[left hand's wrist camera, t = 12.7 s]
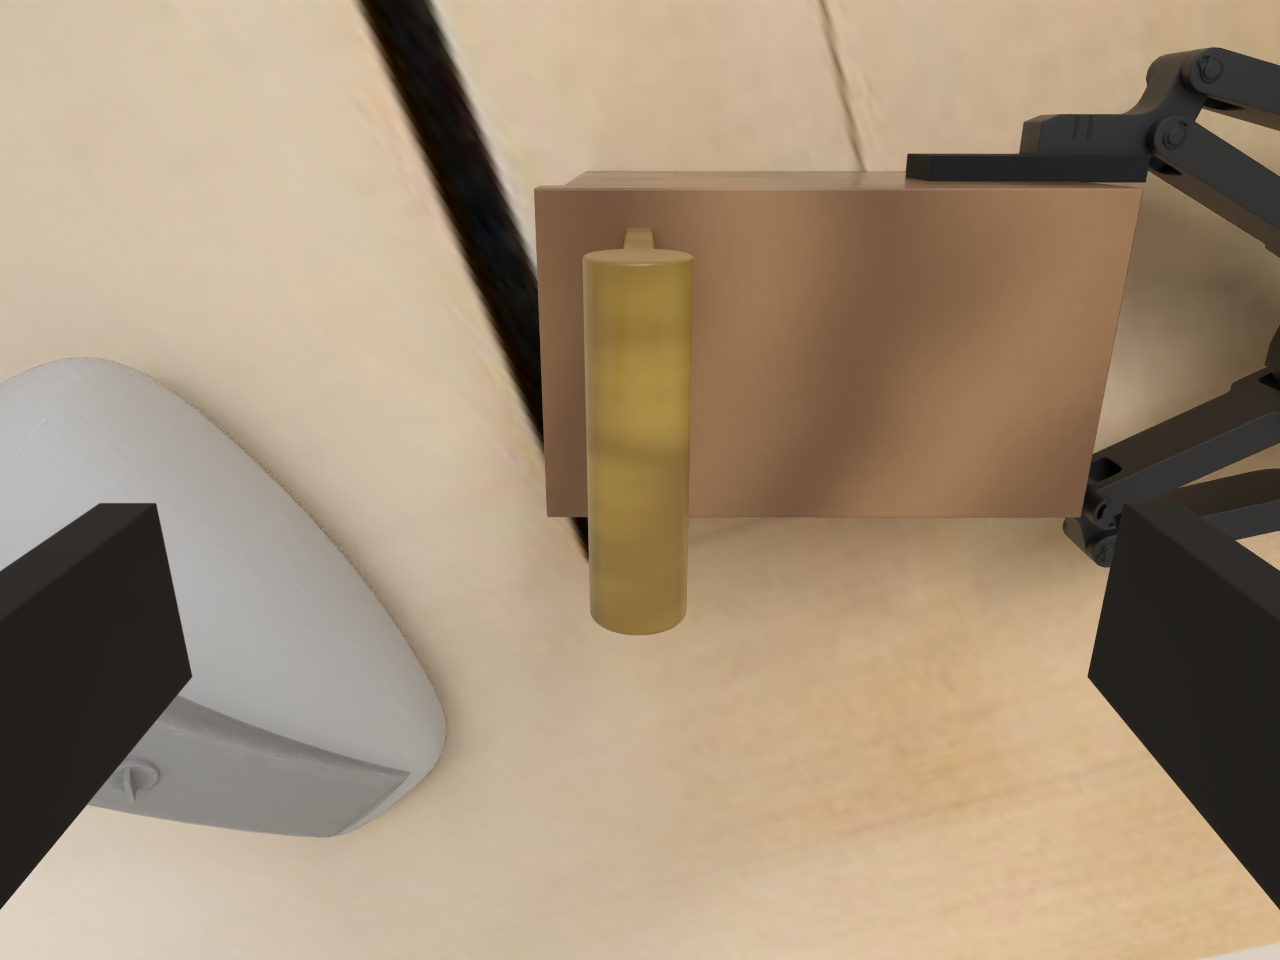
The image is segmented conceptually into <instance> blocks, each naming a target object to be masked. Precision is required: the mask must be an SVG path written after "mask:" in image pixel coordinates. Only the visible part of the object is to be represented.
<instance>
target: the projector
mask: <svg viewBox="0 0 1280 960" xmlns="http://www.w3.org/2000/svg"><path fill="white" fill-rule="evenodd" d="M99 503H156V504H157V509H158V514H159V519H160V524H161V528H162V533H163V538H164V543H165V548H166V552H167V557H168V562H169V567H170V572H171V576H172V581H173V586H174V591H175V596H176V600H177V605H178V610H179V615H180V620H181V624H182V629H183V634H184V639H185V644H186V648H187V653H188V658H189V663H190V668H191V672H192V678H191V679H190V680H189V682H188V683H187V684H186V685H185V686H184V688H183V689H182V690H181V691H180V693H179V694H178V695H177V696H176V697H175V699H174V700H173V701H172V702H171V703H170V705H169V706H168V707H167V708H166V710H165V711H164V712H163V713H162V714H161V716H160V717H159V718H158V719H157V720H156V722H155V723H154V724H153V725H152V726H151V728H150V729H149V730H148V731H147V733H146V734H145V735H144V736H143V737H142V739H141V740H140V741H139V742H138V743H137V745H136V746H135V747H134V748H133V750H132V751H131V752H130V753H129V754H128V756H127V757H126V758H125V759H124V760H123V762H122V763H121V764H120V765H119V766H118V768H117V769H116V770H115V771H114V773H113V774H112V775H111V776H110V777H109V779H108V780H107V781H106V782H105V783H104V785H103V786H102V787H101V788H100V789H99V791H98V792H97V793H96V794H95V796H94V797H93V798H92V799H91V800H90V802H89V803H88V804H87V805H92V806H96V807H101V808H106V809H111V810H116V811H120V812H125V813H130V814H136V815H142V816H148V817H153V818H159V819H165V820H171V821H177V822H183V823H190V824H197V825H204V826H211V827H219V828H226V829H233V830H240V831H248V832H258V833H269V834H279V835H289V836H307V837H331V836H337V835H342V834H345V833H348V832H350V831H353V830H355V829H357V828H359V827H361V826H363V825H365V824H366V823H368V822H369V821H371V820H373V819H374V818H376V817H377V816H379V815H380V814H381V813H383V812H384V811H385V810H387V809H388V808H389V807H391V806H392V805H393V804H395V803H396V802H397V801H398V800H400V799H401V798H402V797H403V796H405V795H406V794H407V793H408V792H409V791H411V790H412V789H413V788H414V787H415V786H416V785H417V784H419V783H420V782H421V781H422V780H423V779H424V778H425V777H426V776H427V774H428V773H429V772H430V771H431V770H432V769H433V767H434V766H435V765H436V763H437V761H438V760H439V758H440V755H441V753H442V750H443V747H444V744H445V737H446V718H445V714H444V711H443V708H442V705H441V703H440V700H439V698H438V696H437V694H436V692H435V689H434V687H433V685H432V684H431V682H430V680H429V678H428V676H427V675H426V673H425V671H424V669H423V667H422V665H421V664H420V662H419V660H418V659H417V657H416V656H415V654H414V652H413V651H412V649H411V648H410V646H409V644H408V643H407V641H406V640H405V638H404V636H403V635H402V633H401V632H400V630H399V629H398V627H397V626H396V624H395V623H394V621H393V620H392V619H391V617H390V616H389V614H388V613H387V611H386V610H385V608H384V607H383V605H382V604H381V603H380V601H379V600H378V598H377V597H376V596H375V594H374V593H373V592H372V590H371V589H370V588H369V586H368V585H367V584H366V582H365V581H364V580H363V579H362V577H361V576H360V575H359V573H358V572H357V571H356V570H355V568H354V567H353V566H352V565H351V564H350V562H349V561H348V560H347V559H346V557H345V556H344V555H343V554H342V552H341V551H340V550H339V549H338V548H337V547H336V546H335V544H334V543H333V542H332V541H331V540H330V539H329V538H328V536H327V535H326V534H325V533H324V532H323V531H322V530H321V529H320V527H319V526H318V525H317V524H316V523H315V522H314V521H313V519H312V518H311V517H310V516H309V515H308V514H307V513H306V512H305V511H304V510H303V509H302V508H301V507H300V506H299V505H298V504H297V503H296V502H295V501H294V500H293V498H292V497H291V496H290V495H289V494H288V493H287V492H286V491H285V490H284V489H283V488H282V487H281V486H280V485H279V484H278V483H277V482H276V481H275V480H274V479H273V478H272V477H271V476H270V475H269V474H268V473H267V472H266V471H265V470H264V469H263V468H262V467H260V466H259V465H258V464H257V463H256V462H255V461H254V460H253V459H252V458H251V457H250V456H249V455H248V454H247V453H246V452H245V451H243V450H242V449H241V448H240V447H239V446H238V445H237V444H236V443H235V442H234V441H233V440H232V439H230V438H229V437H228V436H227V435H226V434H225V433H224V432H223V431H221V430H220V429H219V428H218V427H217V426H216V425H214V424H213V423H212V422H211V421H210V420H208V419H207V418H206V417H205V416H204V415H203V414H201V413H200V412H199V411H198V410H196V409H195V408H194V407H192V406H191V405H190V404H189V403H187V402H186V401H185V400H183V399H182V398H181V397H179V396H178V395H177V394H175V393H174V392H172V391H171V390H169V389H168V388H166V387H165V386H163V385H162V384H160V383H159V382H157V381H156V380H154V379H152V378H150V377H149V376H147V375H145V374H143V373H141V372H139V371H137V370H135V369H133V368H130V367H127V366H125V365H122V364H119V363H116V362H113V361H109V360H104V359H97V358H87V357H86V358H68V359H63V360H57V361H53V362H50V363H47V364H43V365H41V366H38V367H35V368H32V369H29V370H27V371H25V372H23V373H21V374H18V375H16V376H14V377H12V378H10V379H8V380H6V381H5V382H3V383H1V384H0V571H1V570H2V569H4V568H5V567H7V566H8V565H10V564H11V563H13V562H14V561H16V560H17V559H18V558H20V557H21V556H23V555H24V554H26V553H27V552H29V551H30V550H32V549H33V548H35V547H36V546H38V545H39V544H40V543H42V542H43V541H45V540H46V539H48V538H49V537H51V536H52V535H54V534H55V533H57V532H58V531H60V530H61V529H62V528H64V527H65V526H67V525H68V524H70V523H71V522H73V521H74V520H76V519H77V518H79V517H80V516H82V515H83V514H84V513H86V512H87V511H89V510H90V509H92V508H93V507H95V506H96V505H98V504H99Z"/></svg>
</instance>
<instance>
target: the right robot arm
mask: <svg viewBox="0 0 1280 960" xmlns="http://www.w3.org/2000/svg"><path fill="white" fill-rule="evenodd" d="M1146 81H1147V88H1146V90H1145V92H1144V94H1143V95H1142V97H1141V99H1140V100H1139V102H1138V103H1137V104H1136V105H1135V106H1134V107H1133V108H1132V109H1131V110H1129V111H1128V112H1126V113H1124V114H1057V115H1040V116H1038V117H1035V118H1033V119H1030V120H1028V121H1025V122H1024V124H1023V131H1022V138H1021V145H1020V152H1019V154H908V156H907V166H906V176H905V177H907V178H913V179H919V180H925V181H1077V182H1146V177H1147V172H1148V171H1150V172H1151V173H1153V174H1155V175H1156V176H1158V177H1159V178H1161V179H1162V180H1164V181H1166V182H1167V183H1169V184H1170V185H1172V186H1174V187H1175V188H1177V189H1178V190H1180V191H1182V192H1183V193H1185V194H1186V195H1188V196H1190V197H1191V198H1193V199H1194V200H1196V201H1198V202H1199V203H1201V204H1202V205H1204V206H1205V207H1207V208H1209V209H1210V210H1212V211H1213V212H1215V213H1217V214H1218V215H1220V216H1221V217H1223V218H1225V219H1226V220H1228V221H1229V222H1231V223H1233V224H1234V225H1236V226H1237V227H1239V228H1241V229H1242V230H1244V231H1245V232H1247V233H1248V234H1250V235H1252V236H1253V237H1255V238H1256V239H1258V240H1260V241H1261V242H1263V243H1264V244H1265V245H1266V246H1265V248H1266V249H1267V250H1269V251H1270V252H1272V253H1273V254H1275V255H1277V256H1278V257H1280V176H1278V175H1276V174H1275V173H1273V172H1272V171H1270V170H1269V169H1267V168H1266V167H1264V166H1263V165H1261V164H1259V163H1258V162H1256V161H1255V160H1253V159H1252V158H1250V157H1249V156H1247V155H1246V154H1244V153H1242V152H1241V151H1239V150H1238V149H1236V148H1235V147H1233V146H1232V145H1230V144H1229V143H1227V142H1225V141H1224V140H1222V139H1221V138H1219V137H1218V136H1216V135H1215V134H1213V133H1212V132H1210V131H1208V130H1207V129H1205V128H1204V127H1202V126H1201V125H1199V124H1198V123H1196V122H1195V120H1196V118H1197V116H1198V114H1199V113H1200V111H1201V109H1202V108H1203V109H1206V110H1210V111H1213V112H1216V113H1220V114H1223V115H1227V116H1230V117H1234V118H1237V119H1240V120H1244V121H1247V122H1251V123H1254V124H1258V125H1261V126H1264V127H1268V128H1271V129H1275V130H1278V131H1280V66H1279V65H1276V64H1272V63H1269V62H1266V61H1262V60H1259V59H1256V58H1252V57H1249V56H1246V55H1242V54H1239V53H1236V52H1232V51H1229V50H1226V49H1222V48H1213V47H1212V48H1205V49H1199V50H1192V51H1185V52H1179V53H1172V54H1166V55H1164V56H1161V57H1159V58H1157V59H1156V60H1155V61H1154V62H1153V63H1152V64H1151V66H1150V67H1149V69H1148V72H1147V76H1146ZM1265 366H1268V367H1266V368H1264V369H1262V370H1260V371H1257V372H1255V373H1253V374H1251V375H1249V376H1247V377H1244V378H1242V379H1240V380H1238V381H1236V382H1234V383H1233V384H1232V385H1231V390H1230V391H1229V392H1228V393H1226V394H1224V395H1221V396H1219V397H1217V398H1215V399H1213V400H1211V401H1208V402H1206V403H1204V404H1202V405H1200V406H1197V407H1195V408H1193V409H1191V410H1189V411H1186V412H1184V413H1182V414H1180V415H1178V416H1175V417H1173V418H1171V419H1169V420H1167V421H1165V422H1162V423H1160V424H1158V425H1156V426H1154V427H1151V428H1149V429H1147V430H1145V431H1143V432H1140V433H1138V434H1136V435H1134V436H1132V437H1129V438H1127V439H1125V440H1123V441H1121V442H1119V443H1116V444H1114V445H1112V446H1110V447H1108V448H1105V449H1103V450H1101V451H1099V452H1097V453H1094V454H1092V460H1091V465H1090V470H1089V475H1088V480H1087V486H1086V491H1085V496H1084V501H1083V507H1082V512H1081V517H1065V521H1064V522H1063V531H1064V533H1065V534H1066V535H1067V536H1068V537H1069V538H1070V539H1071V540H1072V541H1073V542H1074V543H1075V544H1076V545H1077V546H1078V547H1079V548H1080V549H1081V550H1082V551H1083V552H1084V553H1085V554H1086V555H1087V556H1089V557H1090V558H1091V559H1092V560H1093V561H1094V562H1095V563H1096V564H1097V565H1099V566H1102V567H1111V562H1112V557H1113V552H1114V548H1115V543H1116V538H1117V533H1118V528H1119V523H1120V519H1121V514H1122V509H1123V504H1124V503H1181V504H1182V505H1184V506H1185V507H1187V508H1188V509H1190V510H1191V511H1193V512H1194V513H1196V514H1197V515H1198V516H1200V517H1201V518H1203V519H1204V520H1206V521H1207V522H1209V523H1210V524H1212V525H1213V526H1215V527H1216V528H1218V529H1219V530H1220V531H1222V532H1223V533H1225V534H1226V535H1228V536H1229V537H1231V538H1232V539H1234V540H1238V539H1243V538H1247V537H1252V536H1256V535H1261V534H1266V533H1270V532H1275V531H1280V469H1264V470H1258V471H1253V472H1248V473H1244V474H1239V475H1235V476H1230V477H1226V478H1221V479H1217V480H1212V481H1208V482H1203V483H1199V484H1194V485H1190V486H1185V487H1181V486H1183V485H1185V484H1188V483H1190V482H1192V481H1194V480H1197V479H1199V478H1201V477H1203V476H1206V475H1208V474H1210V473H1212V472H1215V471H1217V470H1219V469H1221V468H1224V467H1226V466H1228V465H1230V464H1233V463H1235V462H1237V461H1240V460H1242V459H1244V458H1246V457H1249V456H1251V455H1253V454H1255V453H1258V452H1260V451H1262V450H1264V449H1267V448H1269V447H1271V446H1273V445H1276V444H1278V443H1280V326H1279V328H1278V330H1277V331H1276V333H1275V335H1274V337H1273V339H1272V341H1271V343H1270V346H1269V350H1268V353H1267V357H1266V361H1265ZM1179 487H1181V488H1179Z"/></svg>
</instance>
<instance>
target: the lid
mask: <svg viewBox="0 0 1280 960" xmlns="http://www.w3.org/2000/svg"><path fill="white" fill-rule="evenodd" d="M1142 193H1143V189H1141V188H1133V187H1123V186H539V187H537V188H535V189H534V198H535V223H536V248H537V273H538V299H539V324H540V349H541V374H542V400H543V425H544V450H545V475H546V500H547V516H548V517H588V531H589V577H590V613H591V615H592V617H593V619H594V620H595V622H596V623H598V624H599V625H600V626H602V627H603V628H605V629H607V630H610V631H613V632H616V633H621V634H627V635H649V634H656V633H660V632H664V631H666V630H669V629H671V628H673V627H675V626H676V625H678V624H679V623H680V622H681V621H682V620H683V618H684V616H685V614H686V601H687V554H688V517H1081V512H1082V507H1083V501H1084V496H1085V491H1086V486H1087V480H1088V475H1089V470H1090V465H1091V460H1092V454H1093V449H1094V444H1095V439H1096V433H1097V428H1098V423H1099V418H1100V412H1101V407H1102V402H1103V397H1104V391H1105V386H1106V381H1107V376H1108V371H1109V365H1110V360H1111V355H1112V350H1113V344H1114V339H1115V334H1116V329H1117V323H1118V318H1119V313H1120V308H1121V303H1122V297H1123V292H1124V287H1125V282H1126V276H1127V271H1128V266H1129V261H1130V255H1131V250H1132V245H1133V240H1134V235H1135V229H1136V224H1137V219H1138V214H1139V208H1140V203H1141V198H1142Z"/></svg>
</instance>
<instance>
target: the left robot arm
mask: <svg viewBox="0 0 1280 960" xmlns="http://www.w3.org/2000/svg"><path fill="white" fill-rule="evenodd" d="M191 678H192V672H191V668H190V663H189V658H188V653H187V648H186V644H185V639H184V634H183V629H182V624H181V620H180V615H179V610H178V605H177V600H176V596H175V591H174V586H173V581H172V576H171V572H170V567H169V562H168V557H167V552H166V548H165V543H164V538H163V533H162V528H161V524H160V519H159V514H158V509H157V504H156V503H99V504H98V505H96V506H95V507H93V508H92V509H90V510H89V511H87V512H86V513H84V514H83V515H82V516H80V517H79V518H77V519H76V520H74V521H73V522H71V523H70V524H68V525H67V526H65V527H64V528H62V529H61V530H60V531H58V532H57V533H55V534H54V535H52V536H51V537H49V538H48V539H46V540H45V541H43V542H42V543H40V544H39V545H38V546H36V547H35V548H33V549H32V550H30V551H29V552H27V553H26V554H24V555H23V556H21V557H20V558H18V559H17V560H16V561H14V562H13V563H11V564H10V565H8V566H7V567H5V568H4V569H2V570H1V571H0V909H1V908H2V907H3V906H4V905H5V903H6V902H7V901H8V900H9V899H10V897H11V896H12V895H13V894H14V892H15V891H16V890H17V889H18V888H19V886H20V885H21V884H22V883H23V882H24V880H25V879H26V878H27V877H28V876H29V874H30V873H31V872H32V871H33V869H34V868H35V867H36V866H37V865H38V863H39V862H40V861H41V860H42V859H43V857H44V856H45V855H46V854H47V852H48V851H49V850H50V849H51V848H52V846H53V845H54V844H55V843H56V842H57V840H58V839H59V838H60V837H61V836H62V834H63V833H64V832H65V831H66V829H67V828H68V827H69V826H70V825H71V823H72V822H73V821H74V820H75V819H76V817H77V816H78V815H79V814H80V813H81V811H82V810H83V809H84V808H85V806H86V805H87V804H88V803H89V802H90V800H91V799H92V798H93V797H94V796H95V794H96V793H97V792H98V791H99V789H100V788H101V787H102V786H103V785H104V783H105V782H106V781H107V780H108V779H109V777H110V776H111V775H112V774H113V773H114V771H115V770H116V769H117V768H118V766H119V765H120V764H121V763H122V762H123V760H124V759H125V758H126V757H127V756H128V754H129V753H130V752H131V751H132V750H133V748H134V747H135V746H136V745H137V743H138V742H139V741H140V740H141V739H142V737H143V736H144V735H145V734H146V733H147V731H148V730H149V729H150V728H151V726H152V725H153V724H154V723H155V722H156V720H157V719H158V718H159V717H160V716H161V714H162V713H163V712H164V711H165V710H166V708H167V707H168V706H169V705H170V703H171V702H172V701H173V700H174V699H175V697H176V696H177V695H178V694H179V693H180V691H181V690H182V689H183V688H184V686H185V685H186V684H187V683H188V682H189V680H190V679H191ZM1088 678H1089V679H1090V680H1091V682H1092V683H1093V684H1094V685H1095V686H1096V688H1097V689H1098V690H1099V691H1100V693H1101V694H1102V695H1103V696H1104V697H1105V699H1106V700H1107V701H1108V702H1109V703H1110V705H1111V706H1112V707H1113V708H1114V710H1115V711H1116V712H1117V713H1118V714H1119V716H1120V717H1121V718H1122V719H1123V720H1124V722H1125V723H1126V724H1127V725H1128V726H1129V728H1130V729H1131V730H1132V731H1133V733H1134V734H1135V735H1136V736H1137V737H1138V739H1139V740H1140V741H1141V742H1142V743H1143V745H1144V746H1145V747H1146V748H1147V750H1148V751H1149V752H1150V753H1151V754H1152V756H1153V757H1154V758H1155V759H1156V760H1157V762H1158V763H1159V764H1160V765H1161V766H1162V768H1163V769H1164V770H1165V771H1166V773H1167V774H1168V775H1169V776H1170V777H1171V779H1172V780H1173V781H1174V782H1175V783H1176V785H1177V786H1178V787H1179V788H1180V789H1181V791H1182V792H1183V793H1184V794H1185V796H1186V797H1187V798H1188V799H1189V800H1190V802H1191V803H1192V804H1193V805H1194V806H1195V808H1196V809H1197V810H1198V811H1199V813H1200V814H1201V815H1202V816H1203V817H1204V819H1205V820H1206V821H1207V822H1208V823H1209V825H1210V826H1211V827H1212V828H1213V829H1214V831H1215V832H1216V833H1217V834H1218V836H1219V837H1220V838H1221V839H1222V840H1223V842H1224V843H1225V844H1226V845H1227V846H1228V848H1229V849H1230V850H1231V851H1232V852H1233V854H1234V855H1235V856H1236V857H1237V859H1238V860H1239V861H1240V862H1241V863H1242V865H1243V866H1244V867H1245V868H1246V869H1247V871H1248V872H1249V873H1250V874H1251V876H1252V877H1253V878H1254V879H1255V880H1256V882H1257V883H1258V884H1259V885H1260V886H1261V888H1262V889H1263V890H1264V891H1265V892H1266V894H1267V895H1268V896H1269V897H1270V899H1271V900H1272V901H1273V902H1274V903H1275V905H1276V906H1277V907H1278V908H1279V909H1280V571H1279V570H1278V569H1276V568H1275V567H1273V566H1272V565H1270V564H1269V563H1267V562H1266V561H1264V560H1263V559H1262V558H1260V557H1259V556H1257V555H1256V554H1254V553H1253V552H1251V551H1250V550H1248V549H1247V548H1245V547H1244V546H1242V545H1241V544H1240V543H1238V542H1237V541H1235V540H1234V539H1232V538H1231V537H1229V536H1228V535H1226V534H1225V533H1223V532H1222V531H1220V530H1219V529H1218V528H1216V527H1215V526H1213V525H1212V524H1210V523H1209V522H1207V521H1206V520H1204V519H1203V518H1201V517H1200V516H1198V515H1197V514H1196V513H1194V512H1193V511H1191V510H1190V509H1188V508H1187V507H1185V506H1184V505H1182V504H1181V503H1124V504H1123V509H1122V514H1121V519H1120V523H1119V528H1118V533H1117V538H1116V543H1115V548H1114V552H1113V557H1112V562H1111V567H1110V572H1109V576H1108V581H1107V586H1106V591H1105V596H1104V600H1103V605H1102V610H1101V615H1100V620H1099V624H1098V629H1097V634H1096V639H1095V644H1094V648H1093V653H1092V658H1091V663H1090V668H1089V672H1088Z"/></svg>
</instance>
